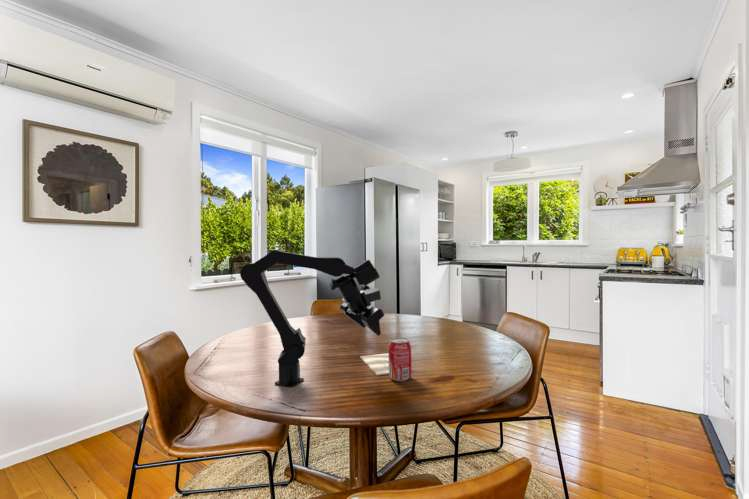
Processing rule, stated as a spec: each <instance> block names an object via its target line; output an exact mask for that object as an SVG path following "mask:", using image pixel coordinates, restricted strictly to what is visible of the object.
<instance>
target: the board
mask: <svg viewBox="0 0 749 499" xmlns="http://www.w3.org/2000/svg"><path fill="white" fill-rule="evenodd" d="M359 357H360V359H361V360H362V362H364V363H365V364H366V366H367V367H368V368H369V369H370V371H372V372H373V373H374V374H375V375H376V376H383V375H384V376H385V375H389V352H388V353H380V354H379V353H378V354H372V355H371V354H370V355H360V356H359ZM412 370H413V369H412V368H411V372H412Z"/></svg>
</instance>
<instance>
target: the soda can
mask: <svg viewBox="0 0 749 499" xmlns="http://www.w3.org/2000/svg"><path fill="white" fill-rule="evenodd" d="M388 344H389V345H388V353H389V374H388V375H389V378H390V379H392V380H393V381H396V382H406V381H408V380H409V379H410V378H411V377H412V371H411V369H412V345H411V343H410V339H408V338H405V337H394V338H391V339H390V343H388Z"/></svg>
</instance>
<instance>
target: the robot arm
mask: <svg viewBox="0 0 749 499" xmlns="http://www.w3.org/2000/svg"><path fill="white" fill-rule="evenodd" d="M276 264H282V265H287V266H294V267H298V268H299V267H300V268H307V269H312V270H315V271H319V272H321V273H323V274H326V275H329V276H331V277H336V279H334V278H331V280H330V283H329V288H330V289H331V291H334V290H336V289H338V291H339V293H340V295H341V297H342V298H341V300H342V303H341V304H340V306H339V309H340V311H341V313H342V314H344V315H345V316H346V317H348V318H349V320H352V321H353V322H355V323H356V324H357V325H359V326H360V327H362V328H363V329H364V328H368V329H369V330H370V331H371V332H373V334H375V335H376V336H378V337H379V336H380V335H381V334H382V333H381V332H382V331H381V326H380V325H381V324H380V320H381V319H382V318H383V317H384V316H385V313H384V310H383V309H382V308H379V307H377V306H371V305H372V302H376V301H380V300H382V296H381V290H380V289H379V288H377V287H373V286H372V287H371V286H370V287H369V285H370V284H371V283H373V282H374V281H376V280H379V279H380V278H381V277H380V274H379V272H378V270H377V269H376V267H375V266H374V264H373V263H372V262H371V260H370V259H366V260H365V261H363V262H362V263H360V264H359V265H357V266H352V265H348V264H346V262H345V261H344V259H342V258H341V257H338V256H337V257H336V256H331V257H330V256H329V257H328V256H324V257H323V256H321V257H320V256H318V257H317V256H312V255H311V256H310V255H306V254H305V255H304V254H300V253H294V252H288V251H282V250H280V249H273V250H270V252H269V253H267V254H266V255H264V256H263V257H261V258H260V259H258V260H256V261H255V262H250V263H246V264H245V265H243V266H242V267H241V269H240V272H239V277H240V278H241V280H242V281H243V282H244V283H245V285H246V286H247V287H248V288H249V289H250V290H251V291H252V292H253V293H254V294H255V295H256V296H257V298H258V299H259V301H260V303H261V305H262V307H263V308H264V309H265V311H266V313H267V315H268V317H269V318H270V321H271V322H272V324H273V325H274V327H275V330H276V331H277V332H278V334H279V337H280V338H279V339H280V342H281V345H282V348H283V350H282V351H281V352H280V354H279V357H278V359H277V363H278V380H276V381H274V385H277V386H283V387H290V388H292V387H294V386H297V385H298V384H300V383H302V382H303V381H304V380H305V378H304V377H301V373H300V372H301V371H300V370H301V368H300V367H301V366H300V365H301V364H300V359H301V358H303V356H304V354H305V351H306V346H307V345H306V344H307V343H306V337H305V336H304V335H303V334H302V331H301V328H300V327H299V328H297V329H295V328H294V327H293V326H292V325H291V324H290V321H289V320H288V318H287V316H286V315H285V312H284V311H283V310H282V308H281V306H280V304H279V302H278V301H277V299H276V297H275V295H274V294H273V292H272V290H271V288H270V287H269V283H268V278H267V276H266V271H268V270H269V269H271V268H272V267H274V266H275V265H276ZM344 275H345V276H344ZM356 281H357V283H358V285H359V286H361V288H359V286H358V285H357V283H356ZM370 306H371V307H370ZM368 307H370V308H368Z"/></svg>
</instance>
